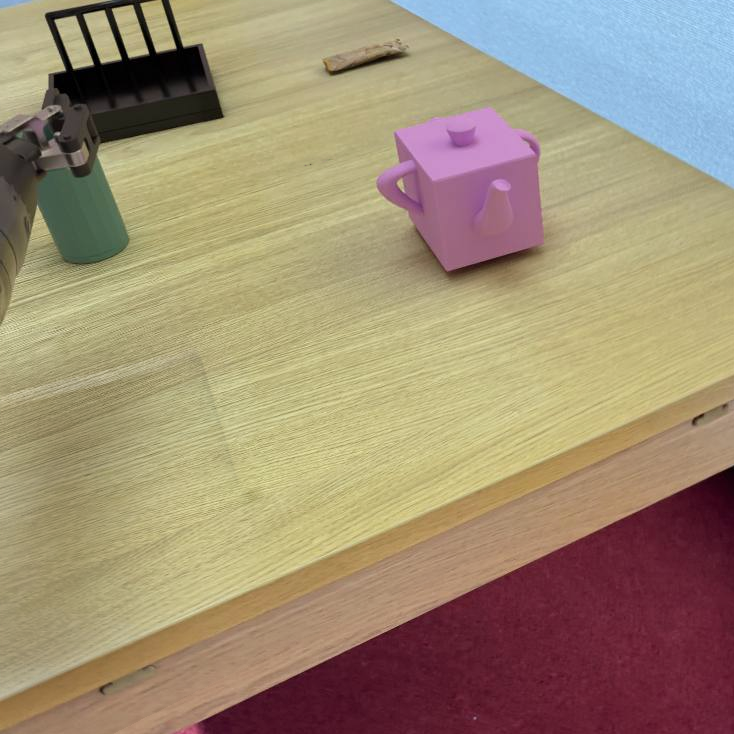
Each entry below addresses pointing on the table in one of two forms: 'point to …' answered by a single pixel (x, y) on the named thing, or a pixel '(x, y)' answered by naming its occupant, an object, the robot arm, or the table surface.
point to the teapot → (468, 186)
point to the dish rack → (136, 78)
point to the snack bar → (363, 55)
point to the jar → (81, 213)
